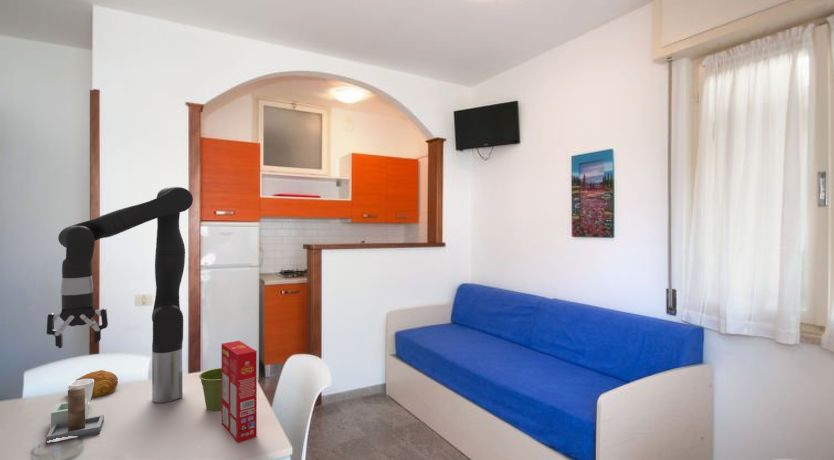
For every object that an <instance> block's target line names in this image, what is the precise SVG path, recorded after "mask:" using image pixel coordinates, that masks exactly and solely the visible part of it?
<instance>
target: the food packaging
mask: <svg viewBox="0 0 834 460" xmlns="http://www.w3.org/2000/svg"><path fill="white" fill-rule="evenodd" d="M257 357H258V356H257V350H256V349H255V348H252V347H251V346H249V345H247V344H246V343H244V342H242V341H240V340H235V341H230V342H224V343H221V368H222V409H221V425H222V427H223V428H224V429H225V430H226V432H227V433H229V435H230V436H231V437H232V438H233V439H234V441H235V442H236V443H237V444H239V443H242V442H244V441H248V440H251V439H255V438H257V437H258V436H257V434H258V433H257V428H258V427H257V424H258V423H257V401H258V400H257V395H258V393H257V392H258V390H257V386H258V385H257V383H258V382H257V381H258V380H257V379H258V377H257V367H258V366H257V359H258V358H257Z"/></svg>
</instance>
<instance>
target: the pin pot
mask: <svg viewBox="0 0 834 460" xmlns="http://www.w3.org/2000/svg"><path fill="white" fill-rule="evenodd" d="M88 415H89V405H88V399H85V418H88ZM67 421H68V401H64V402H59V403H56V405H55V406H54V408H53V409H52V411H51V412H50V429H51V428H52V426H53V425H54V424H56V423H62V422H67Z"/></svg>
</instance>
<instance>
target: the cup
mask: <svg viewBox="0 0 834 460" xmlns="http://www.w3.org/2000/svg"><path fill="white" fill-rule="evenodd" d="M80 386H84V387H85V399H88V406H90V404H91V403H90V402H91V399H92V397H91V396H92V392H93V386H94V380H93V379H82V380H77V381H75V380H74V381H72V382H70V383H69V384H68V387H69V388H68V390H69V389H71V388H74V387H80Z"/></svg>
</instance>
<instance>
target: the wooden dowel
mask: <svg viewBox="0 0 834 460" xmlns="http://www.w3.org/2000/svg"><path fill="white" fill-rule="evenodd" d="M67 402H68V432H69V431H74V430H80V429H85V387H84V386H80V387H74V388H71V389H69V388H68V389H67Z"/></svg>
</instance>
